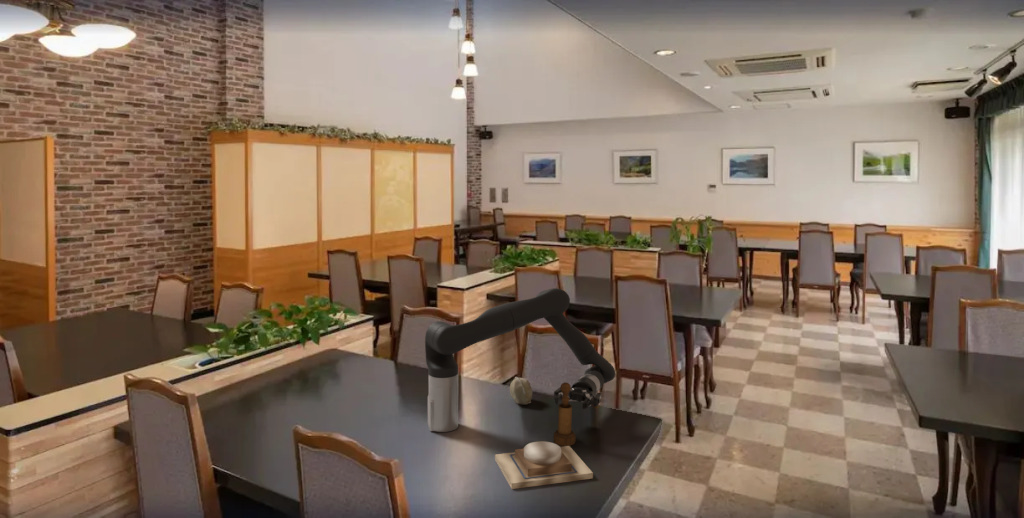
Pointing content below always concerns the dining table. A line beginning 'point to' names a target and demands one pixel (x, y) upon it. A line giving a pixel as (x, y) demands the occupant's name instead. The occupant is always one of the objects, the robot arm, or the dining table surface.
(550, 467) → the beige flat stepped piece
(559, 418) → the wooden knobbed peg
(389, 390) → the dining table surface
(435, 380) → the robot arm
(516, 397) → the garlic bulb
